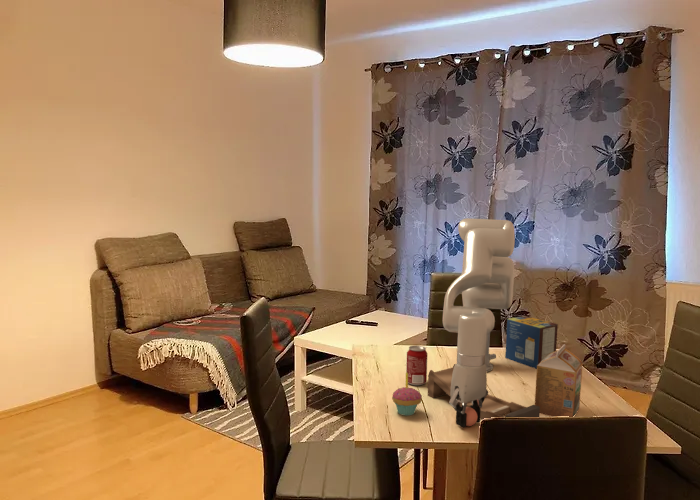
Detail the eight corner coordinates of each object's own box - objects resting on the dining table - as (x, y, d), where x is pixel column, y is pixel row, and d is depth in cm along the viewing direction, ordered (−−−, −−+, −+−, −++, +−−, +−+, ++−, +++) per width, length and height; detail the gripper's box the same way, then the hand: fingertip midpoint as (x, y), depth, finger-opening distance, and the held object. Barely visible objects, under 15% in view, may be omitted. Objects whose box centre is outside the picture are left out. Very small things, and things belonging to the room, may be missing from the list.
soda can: (425, 387, 184) (426, 351, 182) (404, 385, 185) (405, 350, 184) (427, 380, 190) (428, 345, 189) (406, 378, 192) (408, 344, 190)
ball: (466, 419, 159) (467, 402, 159) (480, 426, 155) (481, 408, 155) (454, 424, 156) (455, 406, 156) (468, 430, 152) (469, 412, 152)
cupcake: (389, 406, 168) (390, 367, 166) (418, 406, 168) (419, 367, 167) (394, 418, 159) (395, 377, 158) (424, 418, 160) (425, 377, 158)
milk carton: (572, 420, 160) (576, 355, 158) (534, 412, 166) (538, 349, 163) (579, 408, 169) (583, 346, 167) (543, 400, 175) (546, 340, 172)
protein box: (522, 354, 223) (524, 315, 221) (555, 364, 210) (558, 324, 208) (504, 358, 217) (506, 318, 215) (537, 369, 204) (540, 327, 202)
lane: (426, 395, 177) (427, 369, 176) (453, 387, 184) (454, 362, 183) (511, 433, 151) (512, 403, 150) (538, 422, 159) (540, 393, 158)
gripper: (480, 350, 162) (477, 411, 164) (438, 360, 151) (436, 426, 154) (502, 357, 156) (498, 420, 158) (459, 368, 145) (456, 436, 148)
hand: (467, 422), depth 156 cm, fingers closed on ball, 4 cm apart
